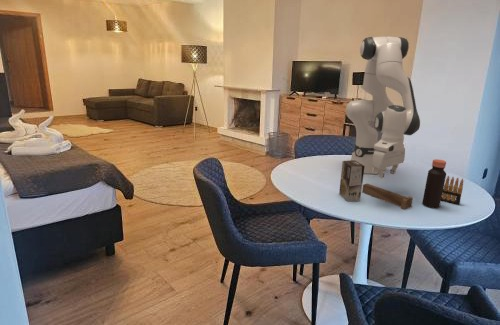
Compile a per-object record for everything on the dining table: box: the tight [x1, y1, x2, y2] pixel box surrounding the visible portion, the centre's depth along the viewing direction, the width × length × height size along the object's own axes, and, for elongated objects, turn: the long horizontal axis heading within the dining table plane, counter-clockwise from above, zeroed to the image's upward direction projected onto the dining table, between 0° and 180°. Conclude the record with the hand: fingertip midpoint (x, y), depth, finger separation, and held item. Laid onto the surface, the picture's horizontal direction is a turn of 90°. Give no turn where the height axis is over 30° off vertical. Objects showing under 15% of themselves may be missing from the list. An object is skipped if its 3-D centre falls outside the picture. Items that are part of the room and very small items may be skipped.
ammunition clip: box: [441, 175, 464, 206], centre depth 149 cm, size 11×2×12 cm, turn 52°
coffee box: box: [338, 159, 365, 202], centre depth 150 cm, size 9×6×16 cm
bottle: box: [421, 159, 447, 209], centre depth 143 cm, size 7×7×20 cm
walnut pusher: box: [361, 183, 414, 210], centre depth 150 cm, size 6×22×4 cm, turn 37°
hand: (387, 175), depth 147 cm, fingers open, 8 cm apart
